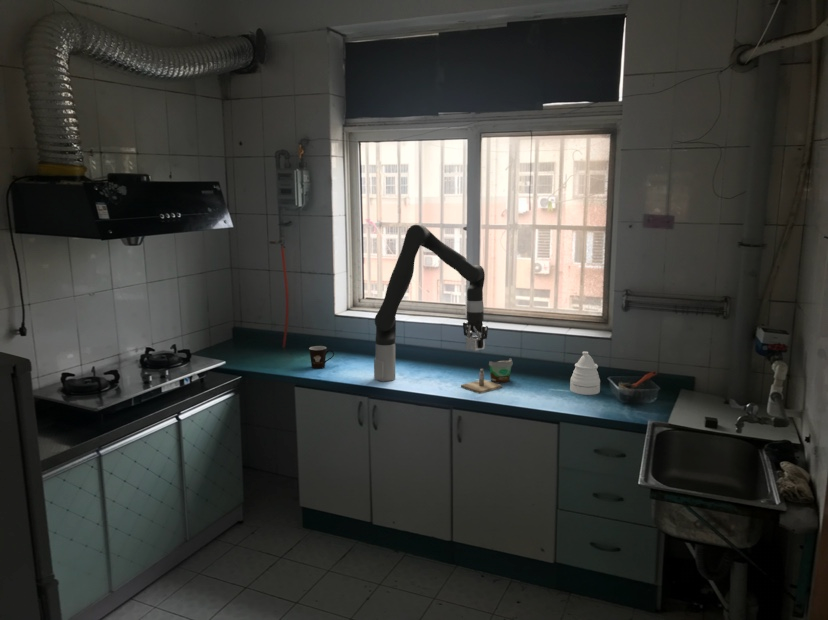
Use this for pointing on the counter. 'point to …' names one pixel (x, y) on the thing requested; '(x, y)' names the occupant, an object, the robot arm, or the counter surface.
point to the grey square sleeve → (473, 343)
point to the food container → (500, 371)
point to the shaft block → (481, 384)
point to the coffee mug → (318, 356)
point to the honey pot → (585, 376)
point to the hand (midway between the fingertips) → (475, 346)
